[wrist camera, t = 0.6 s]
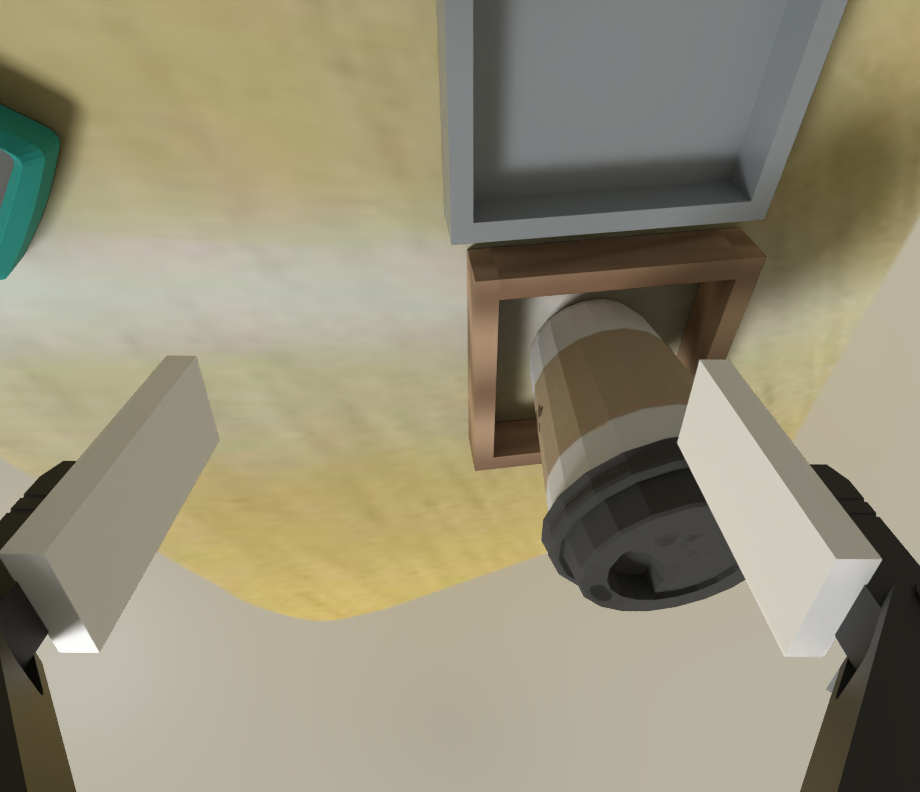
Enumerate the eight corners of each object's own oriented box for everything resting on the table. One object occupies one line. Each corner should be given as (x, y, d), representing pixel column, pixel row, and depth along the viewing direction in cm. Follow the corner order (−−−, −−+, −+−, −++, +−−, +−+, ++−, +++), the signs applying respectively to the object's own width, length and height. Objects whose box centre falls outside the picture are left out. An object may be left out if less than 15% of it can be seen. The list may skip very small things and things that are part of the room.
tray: (427, -235, 18) (436, -242, 16) (879, -243, 19) (943, -250, 17) (444, 213, 29) (451, 244, 27) (735, 191, 30) (764, 219, 28)
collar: (467, 249, 30) (475, 281, 28) (739, 227, 31) (766, 256, 29) (468, 437, 41) (475, 471, 39) (672, 415, 42) (689, 447, 40)
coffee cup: (462, 328, 34) (510, 559, 23) (647, 229, 31) (800, 443, 20) (540, 432, 41) (604, 642, 31) (696, 360, 38) (826, 567, 28)
